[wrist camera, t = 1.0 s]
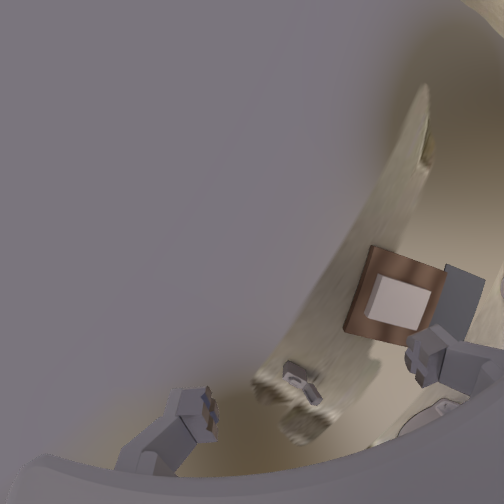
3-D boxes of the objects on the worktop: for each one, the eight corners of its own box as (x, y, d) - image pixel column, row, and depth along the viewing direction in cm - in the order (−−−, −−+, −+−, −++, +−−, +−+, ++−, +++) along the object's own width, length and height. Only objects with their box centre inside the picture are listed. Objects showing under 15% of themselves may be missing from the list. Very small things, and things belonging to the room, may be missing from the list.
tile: (424, 288, 40) (431, 291, 38) (410, 325, 41) (416, 330, 39) (377, 273, 41) (382, 276, 39) (363, 313, 42) (367, 318, 40)
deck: (442, 270, 41) (447, 272, 39) (414, 345, 43) (418, 349, 41) (371, 245, 43) (374, 246, 41) (342, 327, 45) (344, 332, 43)
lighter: (282, 366, 47) (281, 390, 39) (288, 360, 47) (287, 383, 39) (313, 383, 46) (316, 408, 38) (319, 377, 46) (323, 401, 38)
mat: (484, 279, 40) (485, 279, 40) (453, 360, 42) (454, 360, 42) (445, 263, 41) (446, 263, 41) (412, 352, 43) (413, 353, 43)
